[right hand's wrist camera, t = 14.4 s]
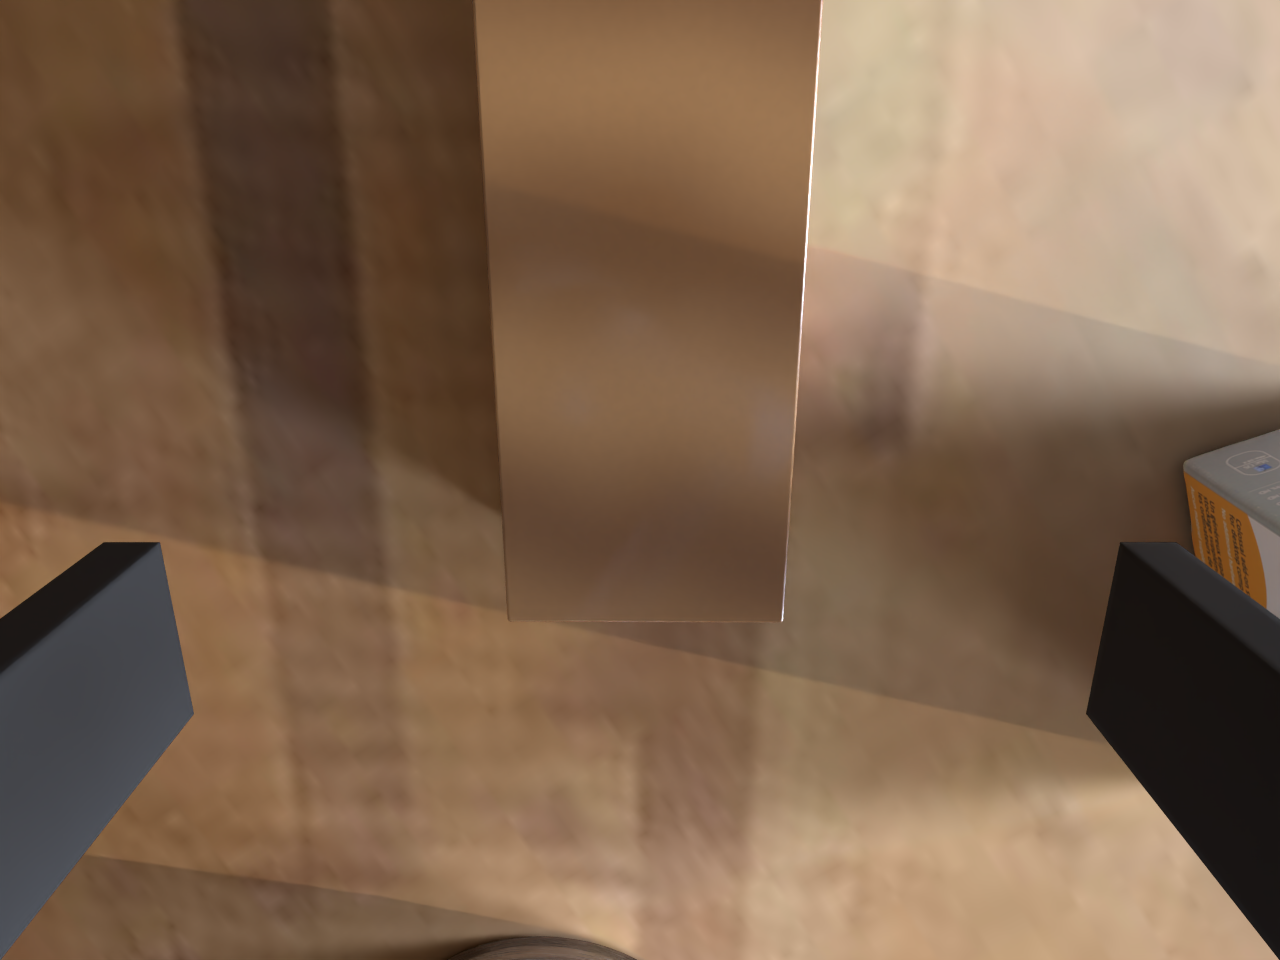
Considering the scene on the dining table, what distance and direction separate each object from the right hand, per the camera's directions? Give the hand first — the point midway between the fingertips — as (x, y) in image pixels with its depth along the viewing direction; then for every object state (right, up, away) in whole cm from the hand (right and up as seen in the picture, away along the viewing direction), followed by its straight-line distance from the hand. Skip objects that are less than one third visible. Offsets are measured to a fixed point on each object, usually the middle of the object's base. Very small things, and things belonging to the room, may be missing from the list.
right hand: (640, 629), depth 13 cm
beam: (0, +39, +7) cm, 40 cm away
